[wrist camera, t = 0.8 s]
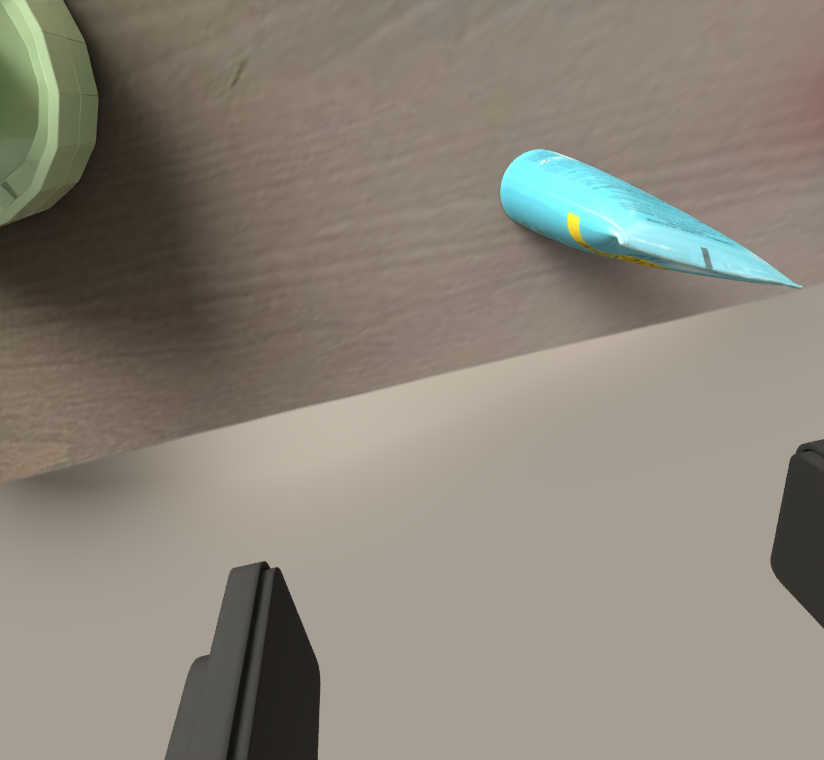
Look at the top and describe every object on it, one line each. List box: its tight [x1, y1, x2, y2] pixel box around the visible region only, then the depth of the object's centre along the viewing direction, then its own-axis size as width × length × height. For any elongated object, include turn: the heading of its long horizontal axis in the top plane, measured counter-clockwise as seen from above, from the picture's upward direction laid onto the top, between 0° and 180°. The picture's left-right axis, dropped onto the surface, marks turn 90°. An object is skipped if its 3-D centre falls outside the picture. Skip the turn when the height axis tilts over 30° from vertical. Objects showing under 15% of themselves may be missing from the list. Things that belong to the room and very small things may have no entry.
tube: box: [500, 149, 803, 289], centre depth 27 cm, size 7×5×19 cm, turn 81°
